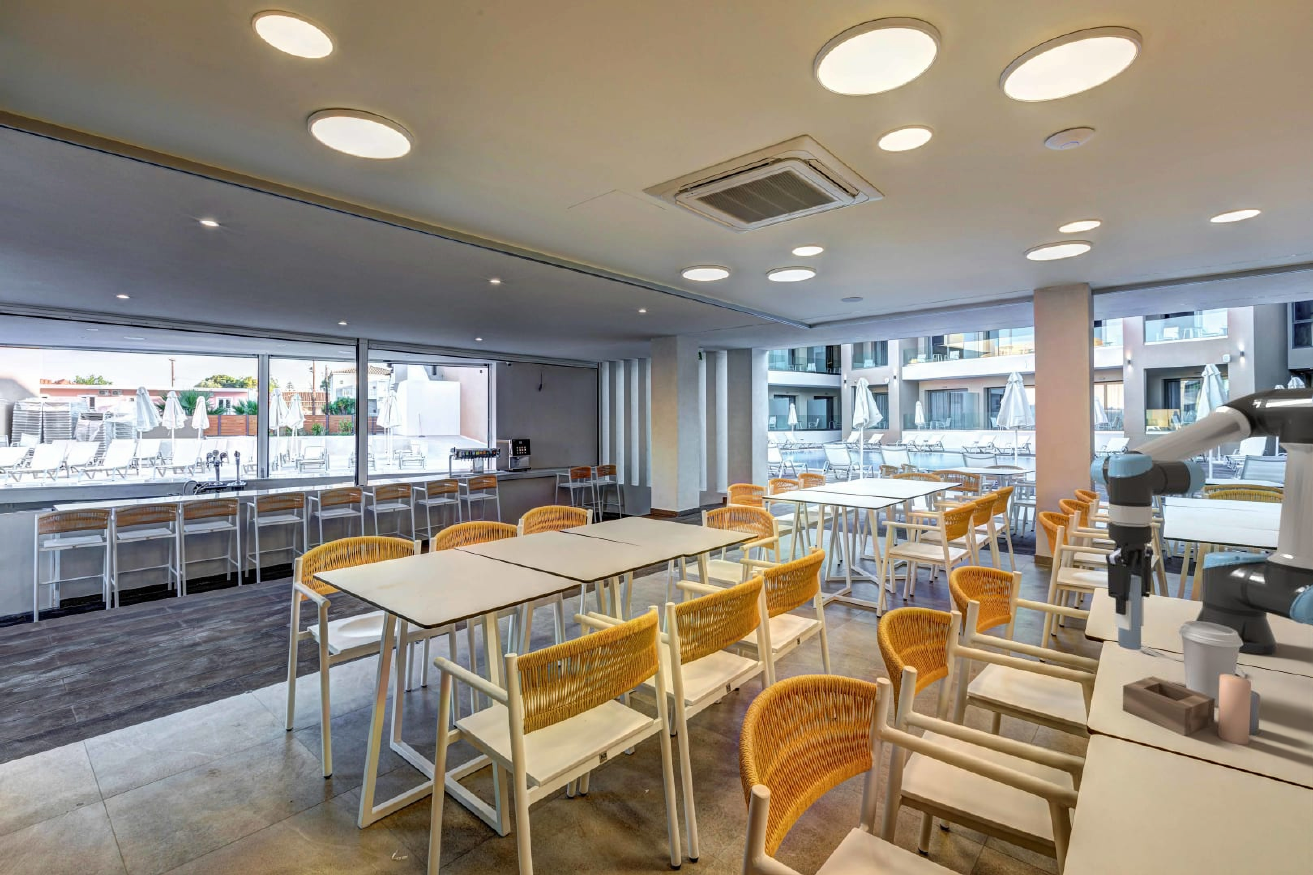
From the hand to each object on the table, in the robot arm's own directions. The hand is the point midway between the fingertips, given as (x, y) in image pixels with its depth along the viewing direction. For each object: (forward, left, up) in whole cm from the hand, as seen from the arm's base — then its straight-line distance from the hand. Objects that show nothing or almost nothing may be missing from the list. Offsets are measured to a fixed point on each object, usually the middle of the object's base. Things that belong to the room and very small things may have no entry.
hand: (1129, 625), depth 130 cm
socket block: (+14, +14, -11) cm, 22 cm away
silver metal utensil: (-20, +2, -12) cm, 23 cm away
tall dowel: (0, 0, -5) cm, 5 cm away
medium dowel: (+12, +23, -11) cm, 28 cm away
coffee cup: (-2, +13, -11) cm, 18 cm away
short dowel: (+6, +22, -11) cm, 25 cm away
